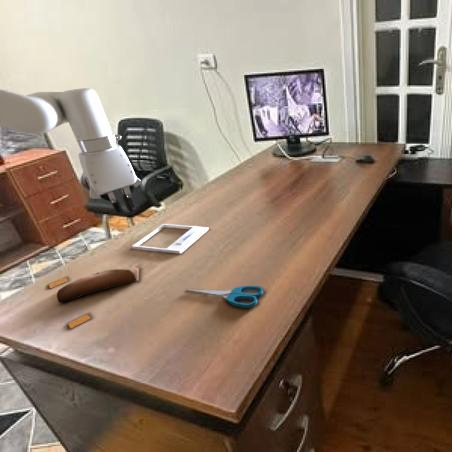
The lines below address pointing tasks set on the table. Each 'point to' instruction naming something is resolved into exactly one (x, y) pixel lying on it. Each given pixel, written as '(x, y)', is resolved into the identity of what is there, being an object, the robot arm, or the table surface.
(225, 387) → the table surface
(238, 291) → the scissors
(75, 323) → the tape marks
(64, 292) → the sunglasses case
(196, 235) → the photo frame
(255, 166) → the table surface
